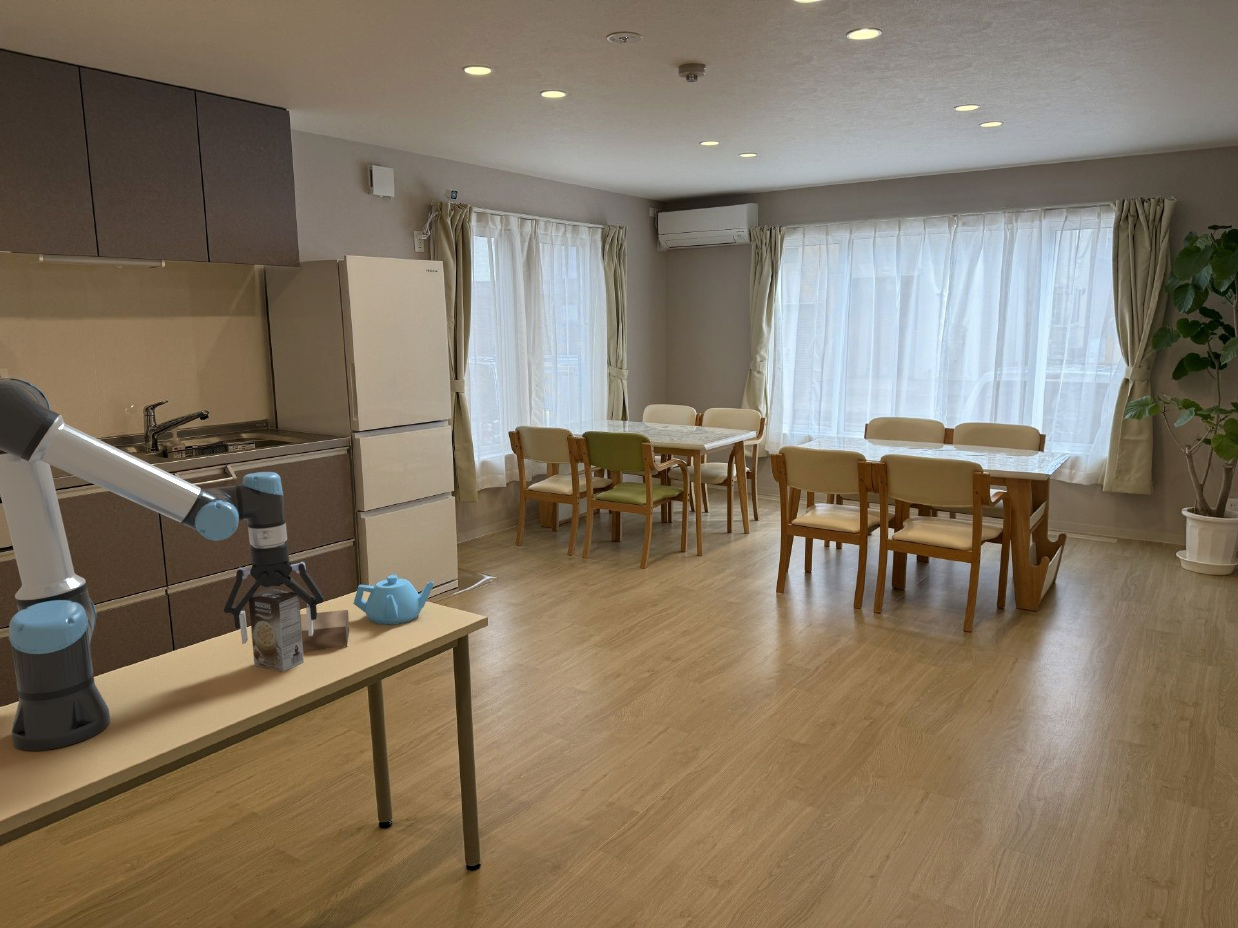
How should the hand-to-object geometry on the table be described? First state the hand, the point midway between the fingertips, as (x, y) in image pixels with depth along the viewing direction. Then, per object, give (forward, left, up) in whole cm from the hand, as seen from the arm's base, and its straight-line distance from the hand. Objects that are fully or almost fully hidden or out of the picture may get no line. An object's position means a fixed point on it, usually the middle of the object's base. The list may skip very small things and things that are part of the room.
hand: (278, 637), depth 185 cm
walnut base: (+8, +12, -6) cm, 15 cm away
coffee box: (0, 0, -6) cm, 6 cm away
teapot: (+25, +24, -6) cm, 35 cm away
